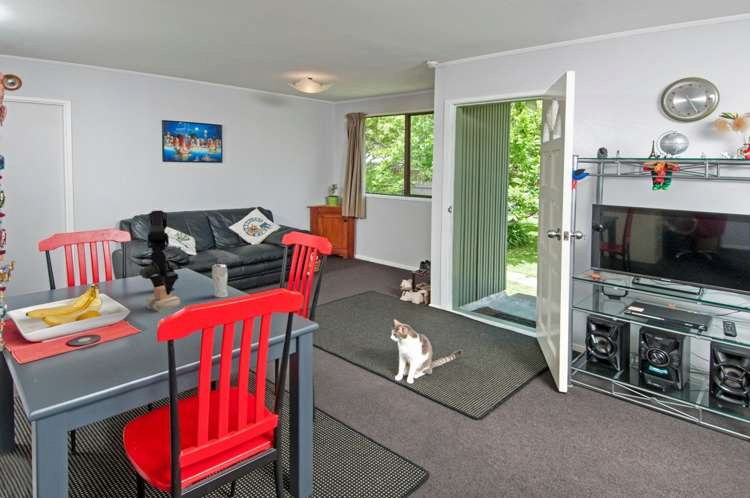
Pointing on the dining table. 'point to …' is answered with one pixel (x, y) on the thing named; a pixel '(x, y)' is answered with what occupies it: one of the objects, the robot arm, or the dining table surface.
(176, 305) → the birch block
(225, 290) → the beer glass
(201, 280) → the dining table surface
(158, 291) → the terracotta cube
